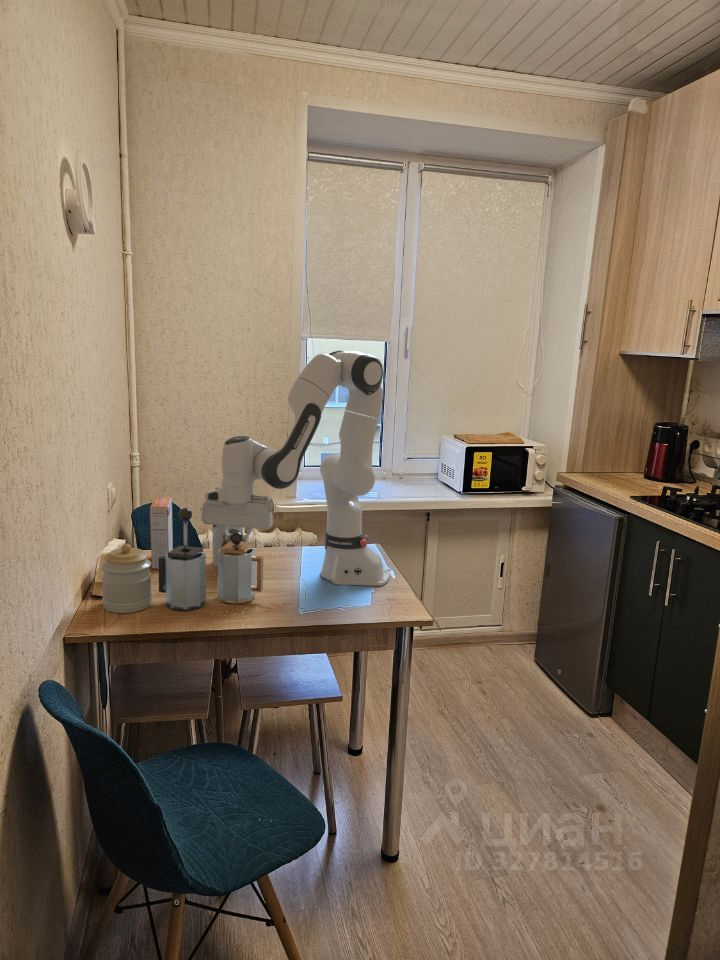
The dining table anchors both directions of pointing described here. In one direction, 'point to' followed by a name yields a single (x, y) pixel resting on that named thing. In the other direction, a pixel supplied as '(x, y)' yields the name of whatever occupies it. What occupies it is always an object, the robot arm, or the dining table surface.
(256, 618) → the dining table surface
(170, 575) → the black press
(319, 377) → the robot arm
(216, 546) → the container
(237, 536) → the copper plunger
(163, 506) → the cracker box
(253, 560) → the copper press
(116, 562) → the jar
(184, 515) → the black plunger
